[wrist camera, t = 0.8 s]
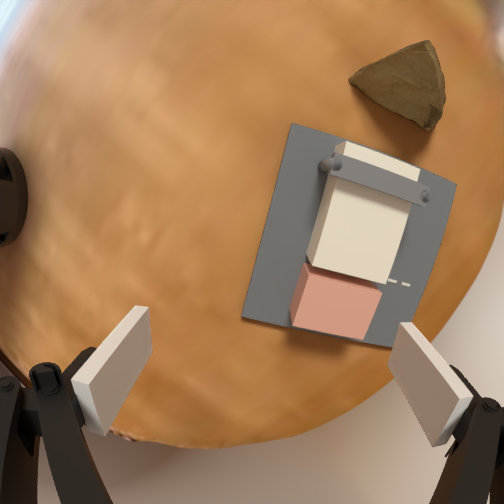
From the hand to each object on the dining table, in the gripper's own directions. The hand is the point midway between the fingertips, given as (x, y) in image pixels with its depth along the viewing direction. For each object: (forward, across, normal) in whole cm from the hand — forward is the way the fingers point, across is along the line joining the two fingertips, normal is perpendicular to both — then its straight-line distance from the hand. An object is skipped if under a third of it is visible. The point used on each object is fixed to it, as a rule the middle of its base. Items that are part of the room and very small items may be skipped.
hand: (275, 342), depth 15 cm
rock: (+20, +14, +18) cm, 30 cm away
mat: (+20, +10, +1) cm, 22 cm away
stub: (+19, +7, -4) cm, 21 cm away
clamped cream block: (+19, +9, +5) cm, 21 cm away
